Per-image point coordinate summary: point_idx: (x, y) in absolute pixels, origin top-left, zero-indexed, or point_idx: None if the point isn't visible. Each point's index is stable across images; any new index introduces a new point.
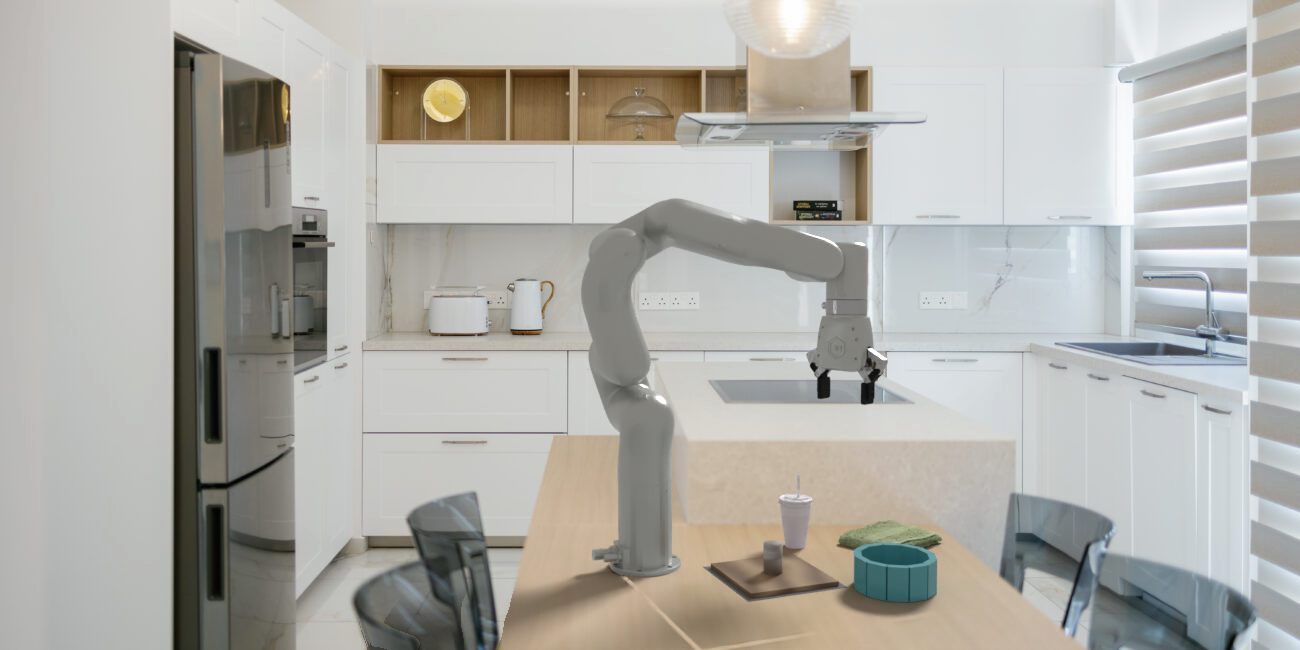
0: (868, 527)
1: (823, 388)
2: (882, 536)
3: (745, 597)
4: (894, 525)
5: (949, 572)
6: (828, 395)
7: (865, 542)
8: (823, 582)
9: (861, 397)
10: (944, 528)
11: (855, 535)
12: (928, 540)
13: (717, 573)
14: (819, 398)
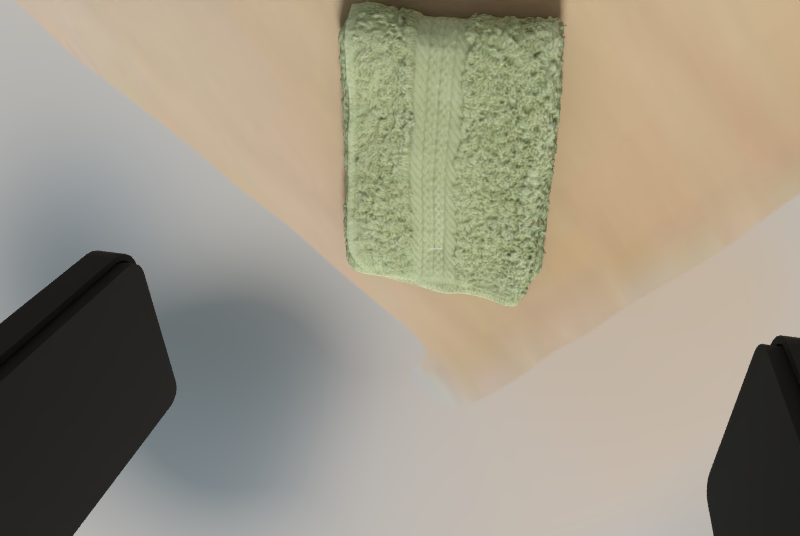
0: (522, 179)
1: (777, 496)
2: (426, 112)
3: None
4: (478, 256)
5: (183, 35)
6: (718, 482)
7: (447, 33)
8: None
9: (69, 289)
10: (419, 367)
11: (503, 60)
12: (344, 208)
13: None
14: (786, 337)
